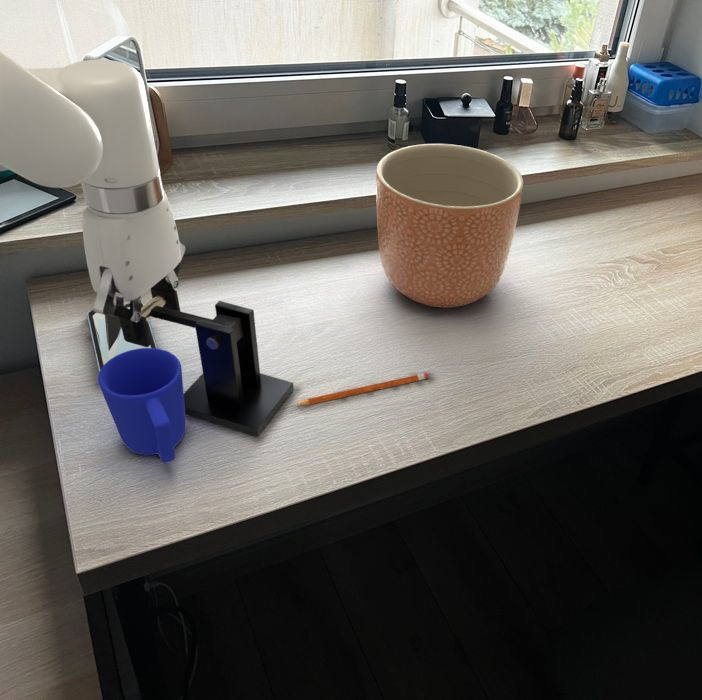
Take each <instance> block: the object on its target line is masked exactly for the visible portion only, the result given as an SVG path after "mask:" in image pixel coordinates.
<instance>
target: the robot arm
mask: <svg viewBox="0 0 702 700" xmlns="http://www.w3.org/2000/svg"><path fill="white" fill-rule="evenodd" d="M144 82H145V81H144V79H143V77H142V76H141V74H140V72H139V71H138V70H137V69H136V68H134V67H133V66H131V65H130V64H129V63H126V62H123V61H117V60H113V59H87V60H81V61H77V62H73V63H71V64H67V65H66V66H63V67H50V68H48V67H46V68H25V67H23V66H22V65H20V64H19V63H17V62H16V61H15V60H13V59H12V58H11V57H9V56H8V55H6V54H5V53H3V52H2V51H0V165H1V166H2V167H4V168H6V169H8V171H11V172H13V173H15V174H17V175H18V176H20V177H21V178H24V179H26V180H28V181H30V182H31V183H34V184H36V185H39V186H42V187H45V188H53V189H55V188H56V189H61V188H62V189H65V188H70V187H74V186H77V185H81V189H82V193H83V196H84V201H85V204H86V208H85V209H84V210H83V211H82V237H83V239H82V240H83V248H84V252H85V253H84V254H85V259H86V265H87V270H88V276H89V280H90V283H91V287H92V289H93V292H95V293H96V297H95V300H94V304H93V307H92V309H93V311H94V312H96V313H99V314H103V315H108V316H115V317H119V320H120V324H121V328H122V332H123V336H124V339H125V341H127V342H130V343H133V344H137V345H140V346H144V347H148V346H149V345H151V338H150V334H149V329H148V325H147V320H146V318H145V317H143V316H141V302H142V296H143V295H144V294H145V293H147V292H148V291H149V290H150V293H151V299H153V298H154V297H155V296H156V295H157V294H163V295H165V296H166V297H167V299H168V304H167V305H166V306H165V307H164V308H168V309H172V310H176V311H180V312H182V311H181V306H180V301H179V296H178V295H179V294H178V291H177V289H178V288H179V285H180V281H179V278H178V275H179V273H180V270H181V265H182V264H181V263H182V260H183V258H184V254H185V252H186V245H185V244H183V243H182V242H181V241H180V239H179V232H178V228H177V224H176V221H175V217H174V213H173V211H172V210H173V209H172V206H171V203H170V202H169V199H168V196H167V194H166V191H165V190H164V186H163V182H162V176H161V171H160V169H161V168H160V164H159V158H158V153H157V147H156V142H155V136H154V131H153V124H152V120H151V114H150V108H149V102H148V96H147V91H146V86H145V83H144ZM124 301H126V302H130V309H128V308H125V307H124V303H125V302H124Z"/></svg>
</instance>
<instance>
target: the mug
mask: <svg viewBox="0 0 702 700" xmlns="http://www.w3.org/2000/svg"><path fill="white" fill-rule="evenodd" d="M97 383H98V386H99V388H100V390H101V393H102V395H103V398H104V401H105V403H106V406H107V408H108V410H109V412H110V415H111V418H112V420H113V423H114V426H115V427H116V430H117V432H118V435H119V437H120V439H121V441H122V443H123V444H124V446H125V447H127V449H129V450H130V451H131V452H133V453H136V454H139V455H143V456H144V455H146V456H151V455H159V456H158V457H159V459H160V461H161V463H163V464H168V463H171V462H173V461H175V459H176V451H175V447H176V446H177V445H179V443H180V442H181V441H182V440H183V438H184V436H185V433H186V429H187V417H186V416H187V415H185V404H184V393H185V391H184V380H183V370H182V364H181V361H180V360H179V358H178V357H177V356H176V355H175V354H173V353H172V352H171V351H168V350H165V349H161V348H158V349H156V348H140V349H134V350H130V351H126V352H124V353H121V354H119V355H117V356H115V357H113V358H112V359H110V360H109V361H108V362H107V363H106V364H105V365H104V366H103V367H102V368H101V370H100V372H99V371H98V376H97Z"/></svg>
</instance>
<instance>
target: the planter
mask: <svg viewBox="0 0 702 700" xmlns="http://www.w3.org/2000/svg"><path fill="white" fill-rule="evenodd" d="M375 175H376V176H375V200H376V202H375V203H376V205H375V206H376V228H377V241H378V251H379V256H380V257H379V258H380V262H381V266H382V269H383V272H384V274H385V276H386V278H387V280H388V281H389V283H390V284H391V285H392V286H393V287H394V288H395V289H396V290H397V291H398V292H399V293H401V294H402V295H403V296H404V297H406V298H408V299H410V300H412V301H414V302H416V303H419V304H421V305H425V306H429V307H432V308H433V307H434V308H459V307H463V306H466V305H470V304H472V303H474V302H476V301H478V300H480V299H482V298H484V297H485V296H487V295H488V294H489V293H490V292H491V291H493V289H494V288H495V287H496V285H497V284H498V283H499V281H500V280H501V277H502V276H503V273H504V271H505V267H506V265H507V263H508V259H509V255H510V252H511V249H512V244H513V240H514V236H515V232H516V228H517V222H518V218H519V213H520V209H521V204H522V198H523V191H524V183H525V182H524V178H523V176H522V173H521V172H520V171H519V170H518V168H517V167H515V166H514V165H513V164H512V163H511V162H509V161H508V160H506V159H504V158H502V157H501V156H498V155H496V154H493V153H492V152H488V151H486V150H482V149H479V148H474V147H471V146H466V145H465V146H464V145H457V144H450V143H423V144H416V145H409V146H406V147H401V148H399V149H396V150H393V151H391V152H390V153H387V154H386V155H384V156H383V158H381V160H379V162H378V164H377V166H376V173H375Z"/></svg>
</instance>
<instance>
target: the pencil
mask: <svg viewBox="0 0 702 700" xmlns="http://www.w3.org/2000/svg"><path fill="white" fill-rule="evenodd" d="M429 378H430V374H429V372H424V373H420V374H416V375H411V376H406V377H402V378H401V377H400V378H397V379H393V380H388V381H383V382H380V383H374V384H369V385H365V386H360V387H356V388H351V389H346V390H342V391H338V392H337V391H336V392H334V393H329V394H325V395H319V396H314V397H311V398H307V399H303V400H302V401H299V402H297V403H295V404H294V406H310V405H315V404H320V403H323V402H328V401H334V400H337V399H341V398H347V397H351V396H355V395H360V394H364V393H368V392H373V391H378V390H382V389H387V388H391V387H395V386H400V385H404V384H410V383H413V382H419V381H423V380H427V379H429Z"/></svg>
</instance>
